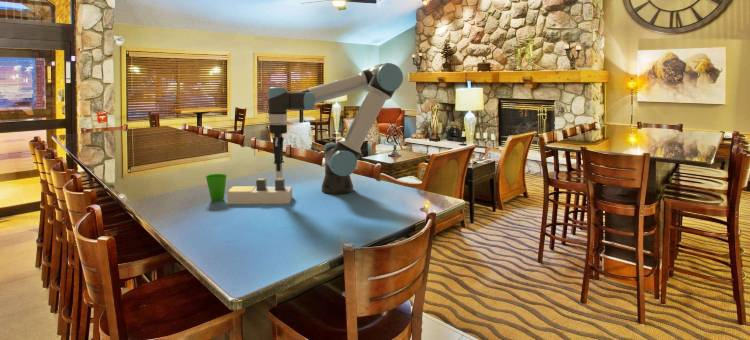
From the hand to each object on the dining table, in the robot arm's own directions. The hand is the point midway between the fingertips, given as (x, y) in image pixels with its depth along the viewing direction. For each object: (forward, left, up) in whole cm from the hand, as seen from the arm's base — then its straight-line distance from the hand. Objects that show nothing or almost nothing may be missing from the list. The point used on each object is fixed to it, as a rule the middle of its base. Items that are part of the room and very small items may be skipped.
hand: (279, 178), depth 206 cm
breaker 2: (0, 0, -7) cm, 7 cm away
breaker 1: (+8, 0, -7) cm, 10 cm away
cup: (+27, -1, -10) cm, 29 cm away
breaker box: (+8, 0, -10) cm, 13 cm away
